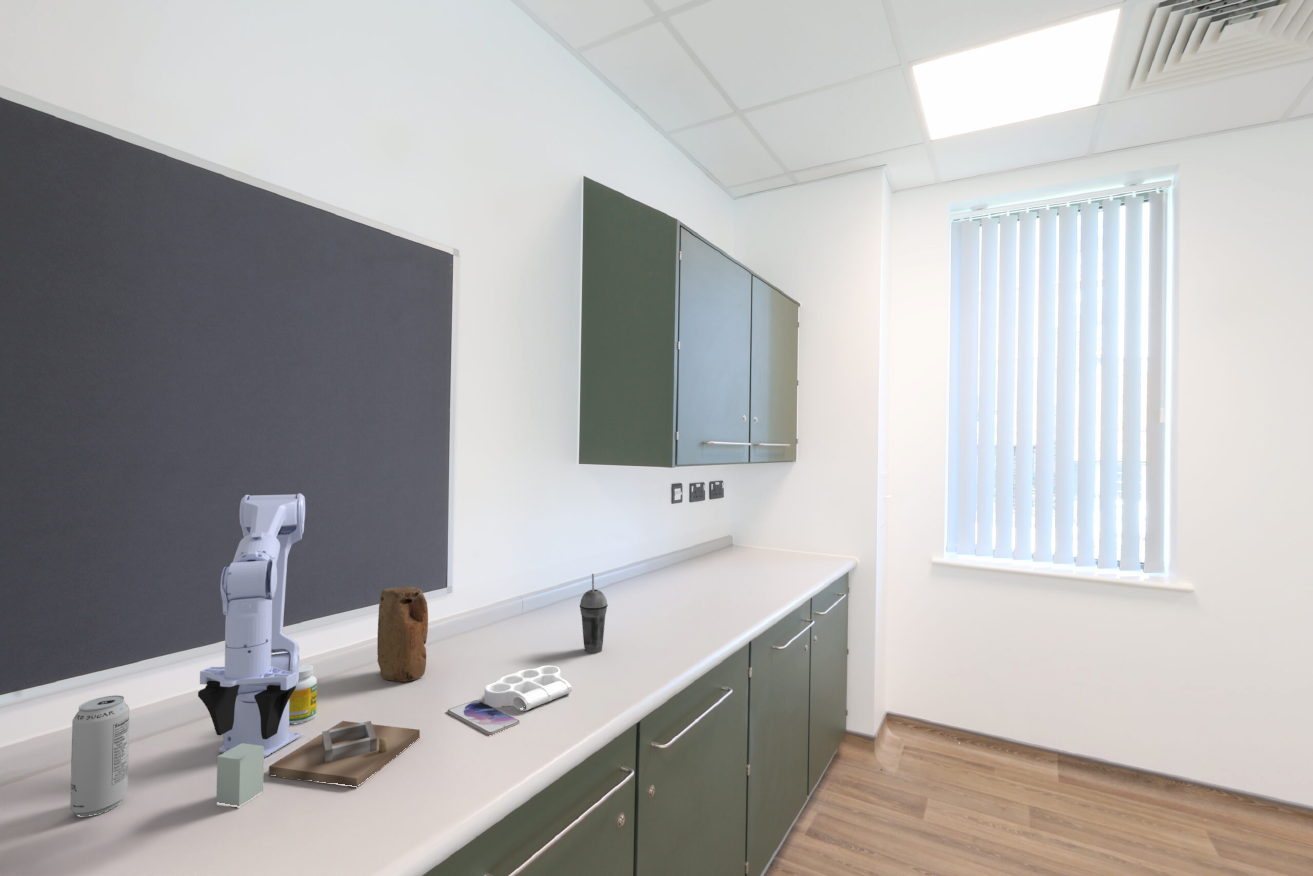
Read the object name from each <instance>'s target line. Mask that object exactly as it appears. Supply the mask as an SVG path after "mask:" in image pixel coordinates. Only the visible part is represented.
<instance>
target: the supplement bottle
mask: <svg viewBox="0 0 1313 876" xmlns="http://www.w3.org/2000/svg"><path fill="white" fill-rule="evenodd" d="M313 674H314V666H313V665H311V664H302V665H299V679H298V684H297V685H296V688H295V690H294V691H293V693H292V695H291V696H290V698H289V723H291V724H290V725H295V724H294V723H300V724H302V723H301V722H304V723H306V722H305V721H307V722H309V721H311V720H313V719H314V718H315V717H316V716H317V710H318V709H317V707H318V706H317V705H318V703H317V699H318V695H317V693H318V679H317V677H316V676H314V675H313ZM312 718H313V719H312ZM308 720H309V721H308Z"/></svg>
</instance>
